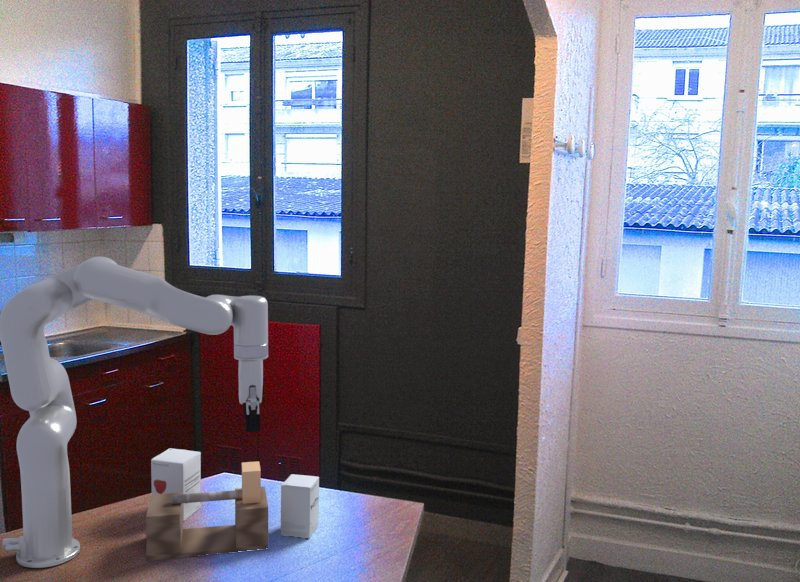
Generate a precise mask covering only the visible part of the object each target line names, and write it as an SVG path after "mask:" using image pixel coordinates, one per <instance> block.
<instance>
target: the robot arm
mask: <svg viewBox="0 0 800 582" xmlns="http://www.w3.org/2000/svg"><path fill="white" fill-rule="evenodd" d="M91 301H98V302H101V303H106V304H109V305H113V306H116V307H119V308H123V309H127V310H130V311H134V312H138V313H141V314H145V315H148V316H149V317H151V318H154V319H157V320H159V321H163V322H166V323H167V324H170V325H171V324H172V325H174V326H176V327H179V328H183V329H186V330H190V331H193V332H197V333H201V334H204V335H205V334H206V335H210V336H212V335H216V336H217V335H221V334H223V333H225V332H227V331H228V330H229V328H230V327H231V326H232V327H233V358H234V359H235V360H237V361H238V368H237V369H238V373H237V375H238V377H237V379H238V400H239V404H240V405H243V419H245V423H244V424H245V425H244V426H245V432H246V433H255V432H260V431H261V413H260V404H261V403H262V402H263V386H264V360H267V358H269V310H268V309H269V307H268V306H269V305H268V300H267V299H266V297H264V296H261V295H242V296H235V295H234V296H233V295H225V294H211V295H208V296H206V297H205V296H200V295H197V294H193V293H191V292H188V291H184V290H182V289H180V288H178V287H176V286H174V285H172V284H170V283H169V282H167V281H166V280H165V279H163V278H162V277H159V276H158V275H155V274H151V273H148V272H144V271H140V270H137V269H133V268H130V267H127V266H123V265H120V264H118V263H117V262H116V261H115V260H113V259H112V258H109V257H107V256H93V257H91V258H89V259H86V260H84V261H83V262H82V263H79V264H77V265H75V266H73V267H70V268H68V269H66V270H64V271H61V272H59V273H57V274H55V275H52V276H50V277H48V278H45V279H43V280H41V281H39V282H35V283H33V284H31V285H29V286H27V287H25V288H24V289H22V290H21V291H20V292H18V293H16V294H15V295H13V297H11V298H10V299H9V300H8V301H7V302H6V303H5V305H4V307H3V308H2V309H1V312H0V345H1V348H2V353H3V359H4V365H5V369H6V375H7V379H8V384H9V388H10V389H9V390H10V395H11V398H12V400H13V402H14V403H15V404H16V406H18V407H19V408H21V410H24V411H28V413H29V418H28V419H27V420H26V421H25V422H24V424H22V426H21V428H20V430H19V432H18V434H17V438H16V454H17V459H18V466H19V470H20V471H19V472H20V485H21V488H20V489H21V509H22V529H23V530H22V531H23V535H19V536H18V537H14V538H13V537H10V538H8V537H6V538H3V539H2V542H1V543H2V545H1V546H2V549H5V552H13V551H17V552H16V557H15V558H16V562H17V564H19V565H20V566H22V567H25V568H29V569H30V568H31V569H43V568H50V567H54V566H59V565H61V564H64V563H66V562H68V561H70V560H72V559H74V558H75V557H76V556H77V555H78V554H79V553H80V552H81V543H80V542H79V540H78V539H76V538H74V537H73V527H72V526H73V525H72V524H73V523H72V496H71V495H72V494H71V474H70V473H71V472H70V463H69V457H68V456H69V455H68V443H69V441H70V439H71V438H72V437H73V435H74V433H75V430H76V429H77V422H78V421H77V414H76V413H77V412H76V408H75V407H76V406H75V403H74V399H73V393H72V388H71V384H70V378H69V375H68V373H67V370H66V368H65V367H64V366H63V364H62V363H61V362H59V361H58V360H56V359H55V358H52V357H51V356H50V350H49V346H48V342H47V339H46V336H45V332H44V329H45V326H46V325H48V324H49V323H50V322H51V323H52V322H53V321H55V320H57V319H58V318H59V317H61V316H63V315H65V314H66V313H68V312H70V311H73V310H75V309H76V308H79V307H80V306H83V305H85V304H87V303H90V302H91Z"/></svg>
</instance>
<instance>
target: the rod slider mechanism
mask: <svg viewBox="0 0 800 582" xmlns="http://www.w3.org/2000/svg"><path fill="white" fill-rule="evenodd" d="M230 500H231V501H232V500H234V524H229V525H226V524H225V525H217V526H205V527H204V526H203V527H193V528H192V527H191V528H184V524H183V523H184V521H183V505H182V503H194V502H201V503H203V502H204V503H205V502H218V501H230ZM147 505H148V506H147V510H146V515H145V527H146V528H145V534H146V537H145V539H146V543H145V544H146V561H148V562H149V561H161V560H170V559H180V558H181V559H182V558H191V557H190V556H194V557H199V556H198V555H205V556H207V555H206V554H215V555H220V554H219V553H226V554H230V553H229V552H237V553H239V552H238V551H247V550H257V549H266V548H268V549H269V503H268V497H267V491H266V486H261V502H260V503H247V504H243V490H242V487H241V488H235V489H234V490H233V489H232V490H223V491H222V490H221V491H219V490H218V491H208V492H201V493H191V494H182V493H169V494H155V495H152V494H150V497H149V501H148V504H147ZM217 553H218V554H217Z"/></svg>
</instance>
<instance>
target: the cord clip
mask: <svg viewBox="0 0 800 582" xmlns="http://www.w3.org/2000/svg"><path fill="white" fill-rule="evenodd" d="M261 475H262V473H261V465H260V461H246V462H241V488H242V490H243V504H247V503H260V502H261V487H262V485H261V479H262V478H261V477H262V476H261Z"/></svg>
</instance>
